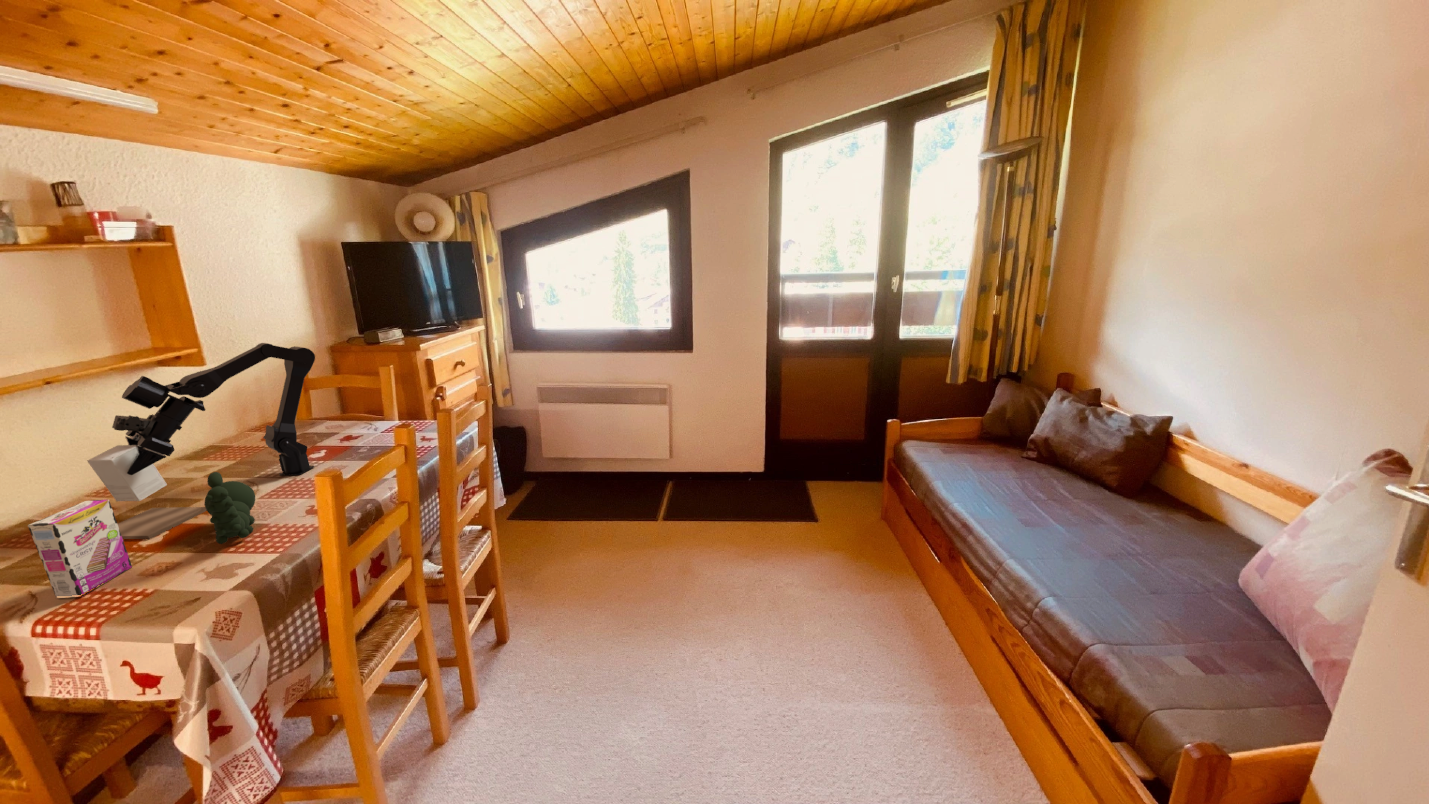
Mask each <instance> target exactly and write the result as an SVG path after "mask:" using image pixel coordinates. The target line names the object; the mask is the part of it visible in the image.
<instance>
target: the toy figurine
mask: <svg viewBox="0 0 1429 804" xmlns="http://www.w3.org/2000/svg"><path fill="white" fill-rule="evenodd" d="M207 485H208V486H209V488H210V489H209V490H208V491H207V493H206V496H205V499H204V507H205V508H206V510H207V511H206V512H207V513H208V514H209V515H210V516H211V518H210V520H209V522H210V523H211V524H213V526H214V531H215V532H214V533H215V541H216V543H217V544H221V545H222V544H226V543H227V542H228V540H229V539H232V538H235V537H239V538H240V539H245V538H247V537H248V536H249V535H250V534H251V533H253V532H254V527H253V526H252V525H253V524H254V523H255V521H256V520H255V517H254V516H253V515H251V511H252V509H253V507H254V506H255V502H256V494H255V491H254V489H253V487H251V486H250V485H248V484H246V483H244V482H242V481H237V480H228V481H224V480H223V476H222V474H221V473H220V472H218V471H213V472H211V473H210V474H208V476H207Z"/></svg>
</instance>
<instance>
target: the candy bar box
mask: <svg viewBox="0 0 1429 804" xmlns="http://www.w3.org/2000/svg"><path fill="white" fill-rule="evenodd" d="M115 516H116V515H115V513H114V510H113V508H112V505H111V501H110V499H94V500H85V501H82V502H80V503H77V504H75V505H72V506H71V507H68V508H66V509H64V510H61V511H58V512H56V513H54V514H51V515H49V516H47V517H44V518H42V519H39V520H37V521H35V522H32V523H30V524H28V525H27V527H28V530H29V533H30V536H31V537H32V540H33V543H34V545H35V548H36V550H37V552H38V555H39V558H40V560H41V563H42V564H43V568H44V570H45V572H46V575H47V578H48V580H49V583H50V585H51V588H52V591H53V594H54V596H55V598H56V597H57V596H72V595H81V594H84V593H85V592H87V591H90V590H91V589H93V588H96V587H97V586H98V585H101V584H102V583H104V584H106V583H107V581H108V580H109V581H111V580H113V579H114V578H116V577H118V576H119V574H120V575H122V574H123V573H125V572H127V571H129V570H130V569H131V568H133V565H132V563H131V559H130V557H129V554H128V550H127V548H126V545H125V542H124V540H123V538H122V536H121V533H120V531H119V527H118V522H117V518H116V517H115ZM112 578H113V579H112ZM109 581H108V582H109ZM105 582H106V583H105ZM101 586H102V585H101ZM96 589H97V588H96Z"/></svg>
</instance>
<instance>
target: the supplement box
mask: <svg viewBox="0 0 1429 804" xmlns="http://www.w3.org/2000/svg"><path fill="white" fill-rule="evenodd" d="M138 446H139V445H138ZM140 447H141V446H140ZM137 454H138V451H137V449H136V445H128V444H127V445H126V444H124V445H123V444H121V445H120V444H118V445H115V446H113V447H112V448H109V449H106V450H105V451H104V452H102V453H100V454H97V455H96V456H93V457H92V458H90V459H88V460H86V461H87V463H88V464H89V465H90V467H91V468H92V470H93V471H94V473H95V474H96V475H97V477H98V478H99V480H100V481H101V482H102V483H103V484H104V487H106V489H107V490H108V491H109V493H110V494H111V497H113V498H114V500H115V502H141V501H143V500H144V499H146V498H147V497H149V496H151V495H152V494H154V493H156V492H158V491H159V490H161V489H163V488H165V487H167V485H168V484H167V482H166V481H165V478H163V476H162V475H161V473H160V472H159V470H158V468H157V467H156V466H155V465H154V464H155V463H154V464H152V465H150V466H148V467H146V468H144V469H143V470H141V471H139V472H137V473H135V474H133V475H129V474H127V472H128V470H129V468H130V466H131V465H132V463H133V461H134V459H135V458H136V456H137Z"/></svg>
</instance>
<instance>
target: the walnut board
mask: <svg viewBox="0 0 1429 804" xmlns="http://www.w3.org/2000/svg"><path fill="white" fill-rule="evenodd" d="M205 512H207V510H206V508H205V506H189V507H188V506H184V507H183V506H182V507H181V506H180V507H179V506H178V507H174V506H173V507H151V508H149V509H147V510H144V511H141V512H140V513H138V514H136V515H133V516H131V517H128V518H126V519H125V520H123V521H120V522H117V524H118V527H119V531H120V533H121V536H122V538H123V539H142V541H143V539H144V540H146V539H148V540H152V539H153V538H156V537H157V536H159V535H161V534H163V533H165V532H167V531H169V530H171V529H173V528H175V527H177V526H179V525H182V524H183V523H185V522H187V521H189V520H191V519H192V518H195V517H197V516H199V515H201V514H203V513H205ZM172 527H173V528H172ZM166 530H167V531H166Z"/></svg>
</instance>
